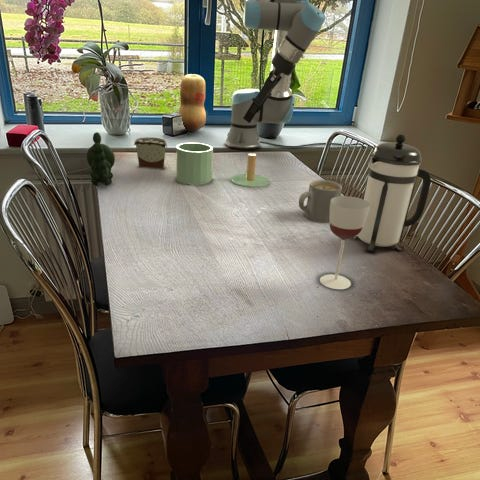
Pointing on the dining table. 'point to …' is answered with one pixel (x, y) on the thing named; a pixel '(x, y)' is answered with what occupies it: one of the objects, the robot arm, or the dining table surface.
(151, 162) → the food container
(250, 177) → the lid
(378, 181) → the coffee press
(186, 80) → the butternut squash
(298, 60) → the robot arm
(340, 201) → the wineglass
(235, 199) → the dining table surface
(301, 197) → the coffee mug
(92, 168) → the toy figurine
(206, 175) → the canister
